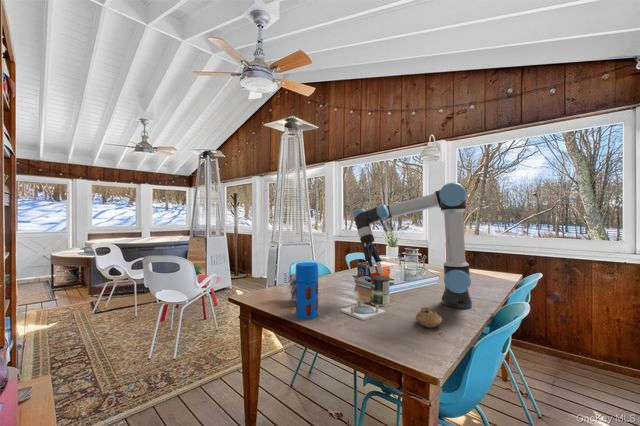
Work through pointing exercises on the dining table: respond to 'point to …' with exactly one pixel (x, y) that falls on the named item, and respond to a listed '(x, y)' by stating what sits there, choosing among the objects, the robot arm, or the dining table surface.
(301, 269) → the thermos
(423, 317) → the oil lamp
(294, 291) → the robotic toy
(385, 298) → the coffee can
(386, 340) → the dining table surface
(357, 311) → the pin jig
